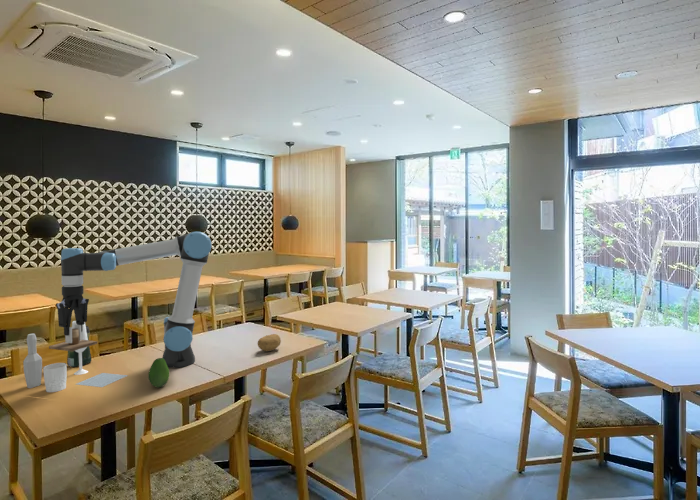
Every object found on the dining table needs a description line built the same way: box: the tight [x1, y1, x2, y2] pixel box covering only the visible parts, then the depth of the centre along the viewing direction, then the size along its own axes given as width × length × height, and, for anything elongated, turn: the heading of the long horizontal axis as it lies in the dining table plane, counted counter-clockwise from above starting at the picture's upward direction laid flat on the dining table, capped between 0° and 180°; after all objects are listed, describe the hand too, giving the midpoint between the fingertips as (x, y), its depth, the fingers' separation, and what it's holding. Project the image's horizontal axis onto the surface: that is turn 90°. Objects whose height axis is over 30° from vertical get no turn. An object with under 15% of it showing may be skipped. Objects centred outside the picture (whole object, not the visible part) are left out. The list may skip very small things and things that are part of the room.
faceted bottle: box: [22, 333, 43, 389], centre depth 176 cm, size 6×6×22 cm
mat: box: [76, 372, 128, 388], centre depth 182 cm, size 14×14×1 cm
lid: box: [48, 328, 98, 352], centre depth 175 cm, size 12×12×7 cm
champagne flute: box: [71, 320, 89, 376], centre depth 190 cm, size 7×7×24 cm
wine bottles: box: [66, 325, 92, 368], centre depth 203 cm, size 10×8×19 cm
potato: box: [257, 333, 282, 352], centre depth 223 cm, size 10×14×8 cm
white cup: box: [42, 362, 68, 393], centre depth 172 cm, size 8×8×10 cm
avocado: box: [147, 357, 170, 388], centre depth 174 cm, size 8×8×12 cm
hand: (73, 341), depth 175 cm, fingers closed on lid, 4 cm apart
